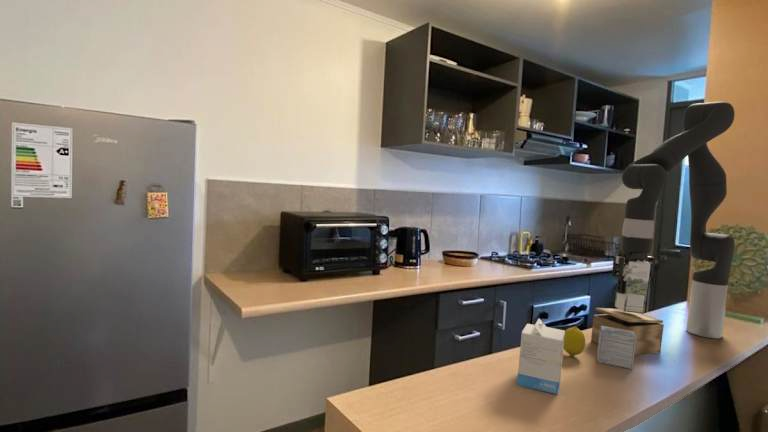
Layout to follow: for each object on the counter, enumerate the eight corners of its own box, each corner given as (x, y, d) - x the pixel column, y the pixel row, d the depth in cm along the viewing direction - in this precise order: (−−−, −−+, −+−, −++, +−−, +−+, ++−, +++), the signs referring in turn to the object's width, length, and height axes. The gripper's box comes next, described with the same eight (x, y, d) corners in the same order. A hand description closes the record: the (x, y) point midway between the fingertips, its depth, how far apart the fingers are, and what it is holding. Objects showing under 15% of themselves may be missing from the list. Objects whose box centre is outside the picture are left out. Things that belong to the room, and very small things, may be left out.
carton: (625, 338, 127) (627, 312, 127) (660, 352, 117) (663, 324, 117) (590, 341, 122) (593, 314, 122) (624, 356, 112) (628, 327, 111)
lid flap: (628, 311, 126) (628, 309, 126) (662, 323, 117) (663, 320, 117) (595, 310, 121) (595, 307, 121) (628, 321, 112) (629, 319, 112)
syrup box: (634, 308, 122) (640, 258, 121) (645, 314, 116) (651, 262, 115) (614, 306, 122) (619, 257, 121) (623, 312, 116) (629, 260, 115)
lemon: (557, 355, 109) (560, 325, 109) (565, 350, 113) (568, 321, 113) (579, 362, 106) (582, 331, 105) (586, 357, 110) (589, 327, 109)
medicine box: (630, 363, 107) (634, 330, 107) (633, 370, 103) (636, 336, 103) (596, 356, 111) (599, 324, 110) (597, 362, 107) (600, 329, 106)
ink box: (557, 395, 87) (564, 333, 86) (516, 384, 91) (521, 324, 90) (560, 380, 95) (566, 322, 94) (522, 370, 99) (527, 315, 98)
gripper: (642, 234, 124) (636, 288, 125) (607, 233, 118) (601, 290, 119) (667, 237, 117) (661, 295, 118) (631, 236, 111) (625, 297, 112)
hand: (631, 292), depth 119 cm, fingers closed on syrup box, 7 cm apart
